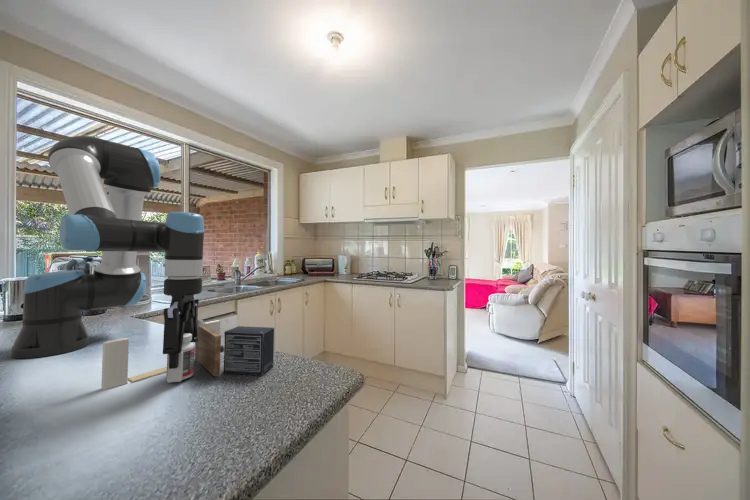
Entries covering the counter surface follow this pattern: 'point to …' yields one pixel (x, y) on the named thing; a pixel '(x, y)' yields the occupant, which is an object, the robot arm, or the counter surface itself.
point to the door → (209, 349)
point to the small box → (248, 350)
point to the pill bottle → (187, 356)
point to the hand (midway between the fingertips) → (180, 375)
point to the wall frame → (118, 360)
